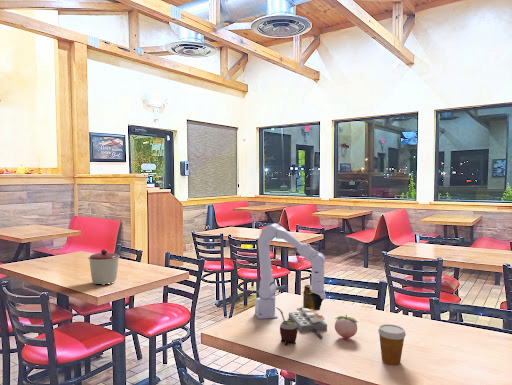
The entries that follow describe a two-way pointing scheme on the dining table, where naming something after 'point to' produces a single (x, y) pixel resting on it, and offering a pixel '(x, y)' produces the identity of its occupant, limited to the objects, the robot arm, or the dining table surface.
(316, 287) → the robot arm
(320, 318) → the rocker near camera
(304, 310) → the rocker near arm
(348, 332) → the decorative fruit
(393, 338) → the disposable coffee cup
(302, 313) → the rocker switch panel
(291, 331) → the mate gourd
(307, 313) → the rocker middle
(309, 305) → the condiment
